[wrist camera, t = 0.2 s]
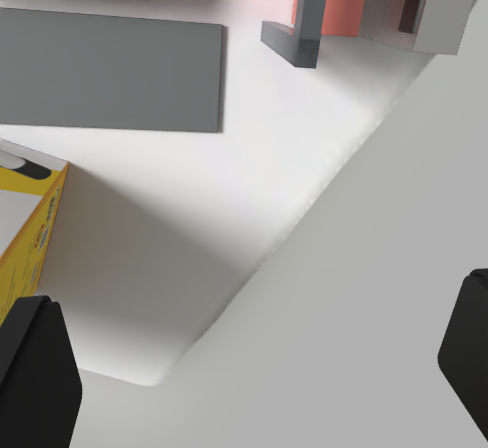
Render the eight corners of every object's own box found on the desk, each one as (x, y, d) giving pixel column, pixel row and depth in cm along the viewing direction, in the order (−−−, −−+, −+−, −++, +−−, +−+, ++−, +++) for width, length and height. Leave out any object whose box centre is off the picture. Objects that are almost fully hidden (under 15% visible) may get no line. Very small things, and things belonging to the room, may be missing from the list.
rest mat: (-40, 4, 31) (-44, 4, 31) (221, 24, 34) (222, 25, 33) (-13, 121, 36) (-16, 123, 35) (216, 130, 38) (217, 132, 38)
